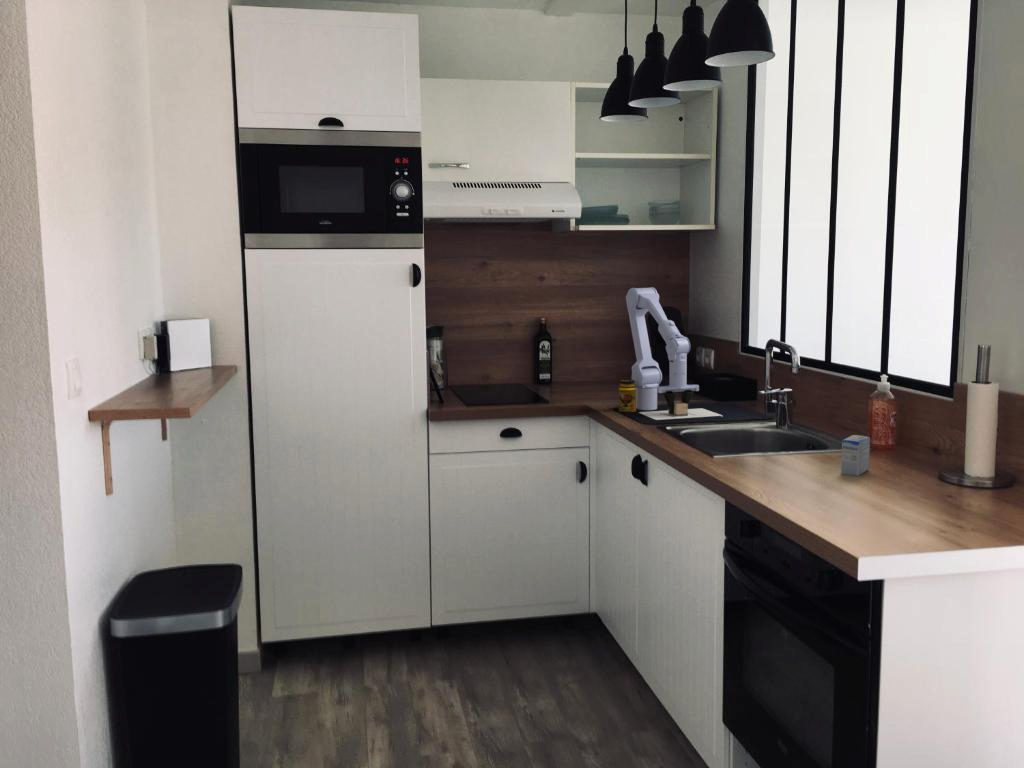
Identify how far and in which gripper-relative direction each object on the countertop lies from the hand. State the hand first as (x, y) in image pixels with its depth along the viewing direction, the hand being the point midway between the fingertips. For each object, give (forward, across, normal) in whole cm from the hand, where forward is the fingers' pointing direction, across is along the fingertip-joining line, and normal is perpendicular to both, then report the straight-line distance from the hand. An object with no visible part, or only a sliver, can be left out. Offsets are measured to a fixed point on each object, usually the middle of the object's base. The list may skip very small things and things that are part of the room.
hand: (677, 412), depth 305 cm
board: (+2, +1, +1) cm, 2 cm away
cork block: (+1, 0, 0) cm, 1 cm away
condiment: (+2, -13, +15) cm, 20 cm away
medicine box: (+2, +10, -87) cm, 87 cm away
